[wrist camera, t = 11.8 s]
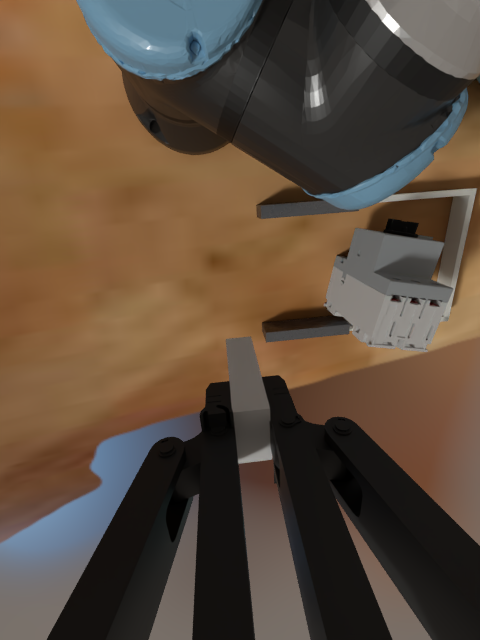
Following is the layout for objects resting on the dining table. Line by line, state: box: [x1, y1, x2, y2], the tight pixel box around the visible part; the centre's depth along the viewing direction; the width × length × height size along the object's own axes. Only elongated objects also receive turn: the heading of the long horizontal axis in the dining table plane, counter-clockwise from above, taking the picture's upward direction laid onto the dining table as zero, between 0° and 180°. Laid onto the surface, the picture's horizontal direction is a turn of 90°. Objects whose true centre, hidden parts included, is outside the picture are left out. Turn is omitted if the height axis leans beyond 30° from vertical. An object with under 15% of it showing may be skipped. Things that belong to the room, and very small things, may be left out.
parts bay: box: [344, 188, 477, 331], centre depth 45 cm, size 20×17×3 cm
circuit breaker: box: [324, 219, 453, 352], centre depth 39 cm, size 8×14×15 cm, turn 172°
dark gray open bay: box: [256, 200, 359, 342], centre depth 44 cm, size 20×13×4 cm, turn 4°
